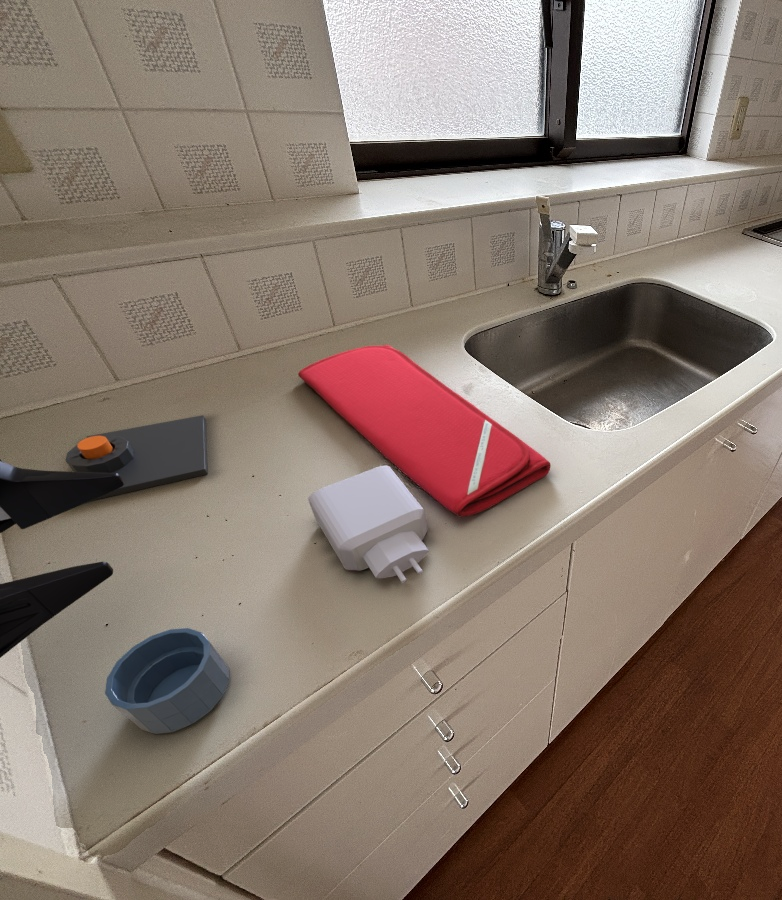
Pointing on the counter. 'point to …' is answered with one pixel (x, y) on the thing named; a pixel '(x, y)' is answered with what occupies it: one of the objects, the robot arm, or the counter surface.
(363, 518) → the charger
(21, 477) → the robot arm
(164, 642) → the bowl
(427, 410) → the dish drying mat
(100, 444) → the tare button
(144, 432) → the scale
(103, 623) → the counter surface
